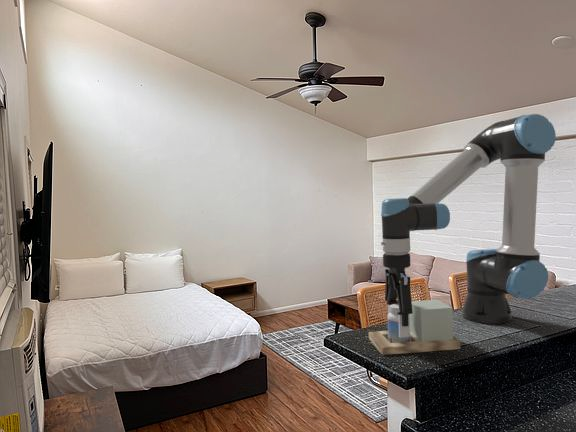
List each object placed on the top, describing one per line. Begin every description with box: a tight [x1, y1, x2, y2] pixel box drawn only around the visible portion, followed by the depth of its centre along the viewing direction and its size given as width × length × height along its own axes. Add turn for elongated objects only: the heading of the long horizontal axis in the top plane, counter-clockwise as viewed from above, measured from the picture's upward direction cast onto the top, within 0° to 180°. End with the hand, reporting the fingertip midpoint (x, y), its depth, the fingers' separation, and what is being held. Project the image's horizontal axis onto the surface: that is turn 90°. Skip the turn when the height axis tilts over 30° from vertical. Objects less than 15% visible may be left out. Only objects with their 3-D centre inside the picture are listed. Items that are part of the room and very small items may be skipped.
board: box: [368, 330, 461, 356], centre depth 120 cm, size 22×13×2 cm, turn 95°
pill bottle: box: [386, 304, 410, 343], centre depth 119 cm, size 6×6×11 cm
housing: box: [409, 299, 454, 342], centre depth 120 cm, size 9×9×9 cm
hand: (398, 331), depth 119 cm, fingers open, 8 cm apart
